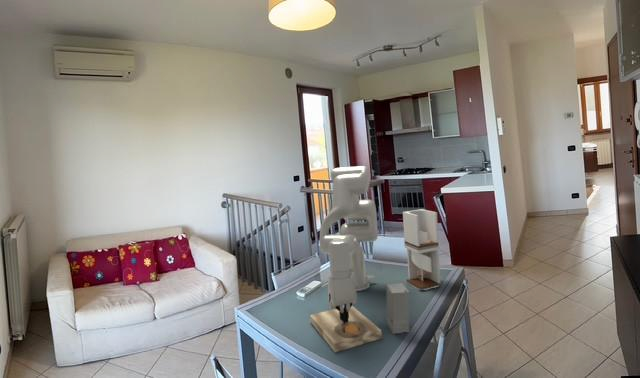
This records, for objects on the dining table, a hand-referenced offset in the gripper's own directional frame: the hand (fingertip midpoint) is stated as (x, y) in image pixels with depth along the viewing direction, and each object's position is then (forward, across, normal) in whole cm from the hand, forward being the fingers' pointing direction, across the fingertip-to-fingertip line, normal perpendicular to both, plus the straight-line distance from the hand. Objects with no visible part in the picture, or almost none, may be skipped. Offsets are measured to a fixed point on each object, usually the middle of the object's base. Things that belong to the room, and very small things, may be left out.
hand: (344, 321), depth 135 cm
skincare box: (+4, -18, +8) cm, 20 cm away
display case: (+4, -50, -20) cm, 54 cm away
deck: (+4, 0, -1) cm, 4 cm away
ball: (+1, 0, +6) cm, 6 cm away
